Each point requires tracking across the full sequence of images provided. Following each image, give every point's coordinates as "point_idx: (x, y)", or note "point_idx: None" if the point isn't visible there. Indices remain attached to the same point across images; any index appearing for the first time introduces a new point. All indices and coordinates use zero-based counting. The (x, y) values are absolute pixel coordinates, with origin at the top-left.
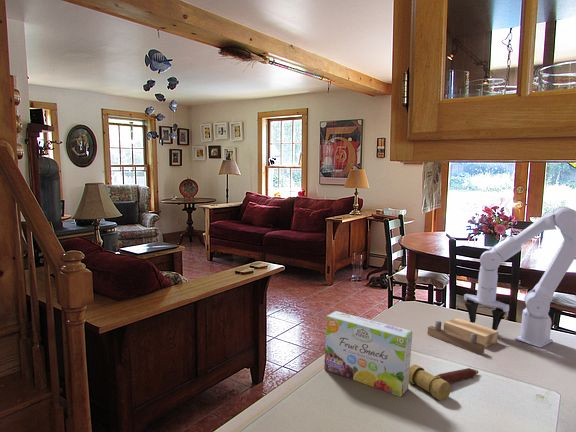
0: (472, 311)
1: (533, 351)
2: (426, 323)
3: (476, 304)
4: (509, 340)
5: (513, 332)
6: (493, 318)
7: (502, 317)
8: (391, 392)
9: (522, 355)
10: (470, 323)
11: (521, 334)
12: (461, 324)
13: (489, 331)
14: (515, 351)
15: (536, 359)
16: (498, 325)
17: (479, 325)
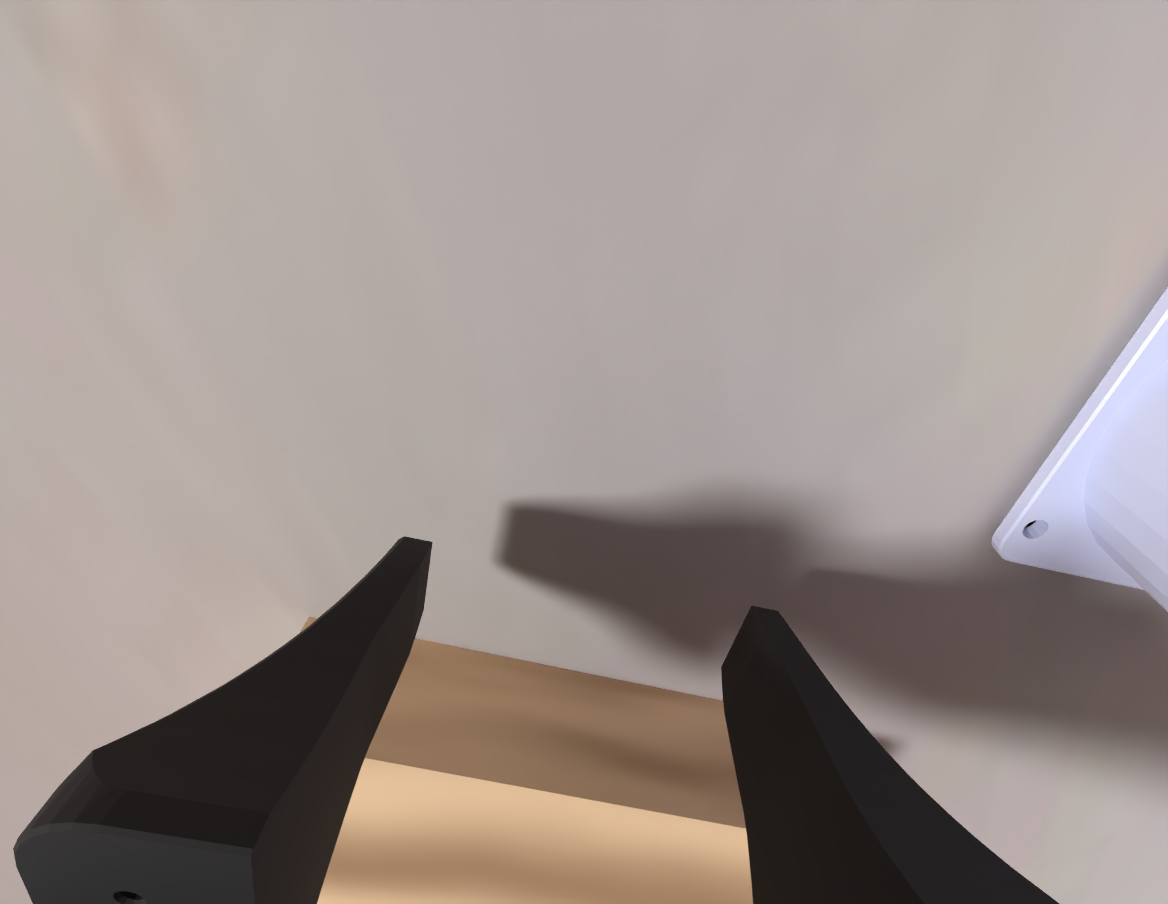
0: (347, 791)
1: (1147, 711)
2: (37, 694)
3: (289, 847)
4: (917, 598)
5: (1007, 246)
6: (763, 890)
7: (920, 793)
8: None
9: (1010, 823)
10: (468, 809)
11: (1130, 565)
12: (410, 876)
13: (728, 884)
14: (957, 791)
15: (1122, 828)
16: (809, 661)
17: (580, 806)
